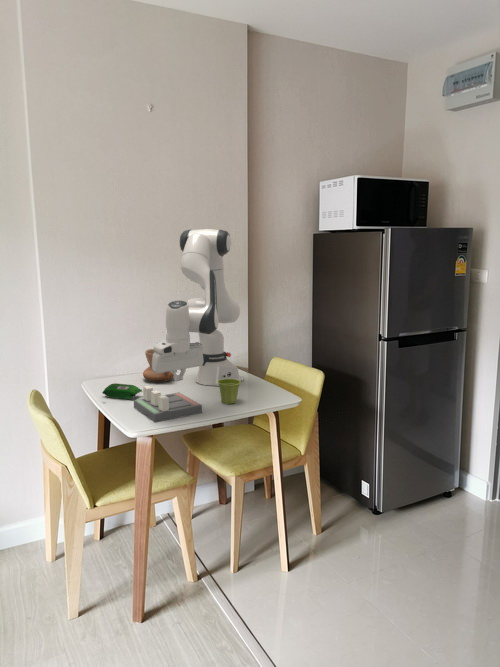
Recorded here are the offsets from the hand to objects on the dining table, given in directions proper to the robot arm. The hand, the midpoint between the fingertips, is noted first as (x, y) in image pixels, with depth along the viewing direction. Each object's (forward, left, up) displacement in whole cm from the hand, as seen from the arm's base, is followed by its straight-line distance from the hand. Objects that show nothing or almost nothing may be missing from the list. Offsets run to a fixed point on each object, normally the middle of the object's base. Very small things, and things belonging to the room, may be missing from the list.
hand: (178, 380), depth 200 cm
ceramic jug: (-14, -46, -14) cm, 50 cm away
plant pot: (-25, -3, -14) cm, 28 cm away
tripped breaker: (+7, 0, -10) cm, 12 cm away
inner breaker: (+6, -14, -10) cm, 18 cm away
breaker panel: (+1, -7, -14) cm, 15 cm away
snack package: (+10, -31, -14) cm, 36 cm away
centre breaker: (+6, -7, -10) cm, 14 cm away
